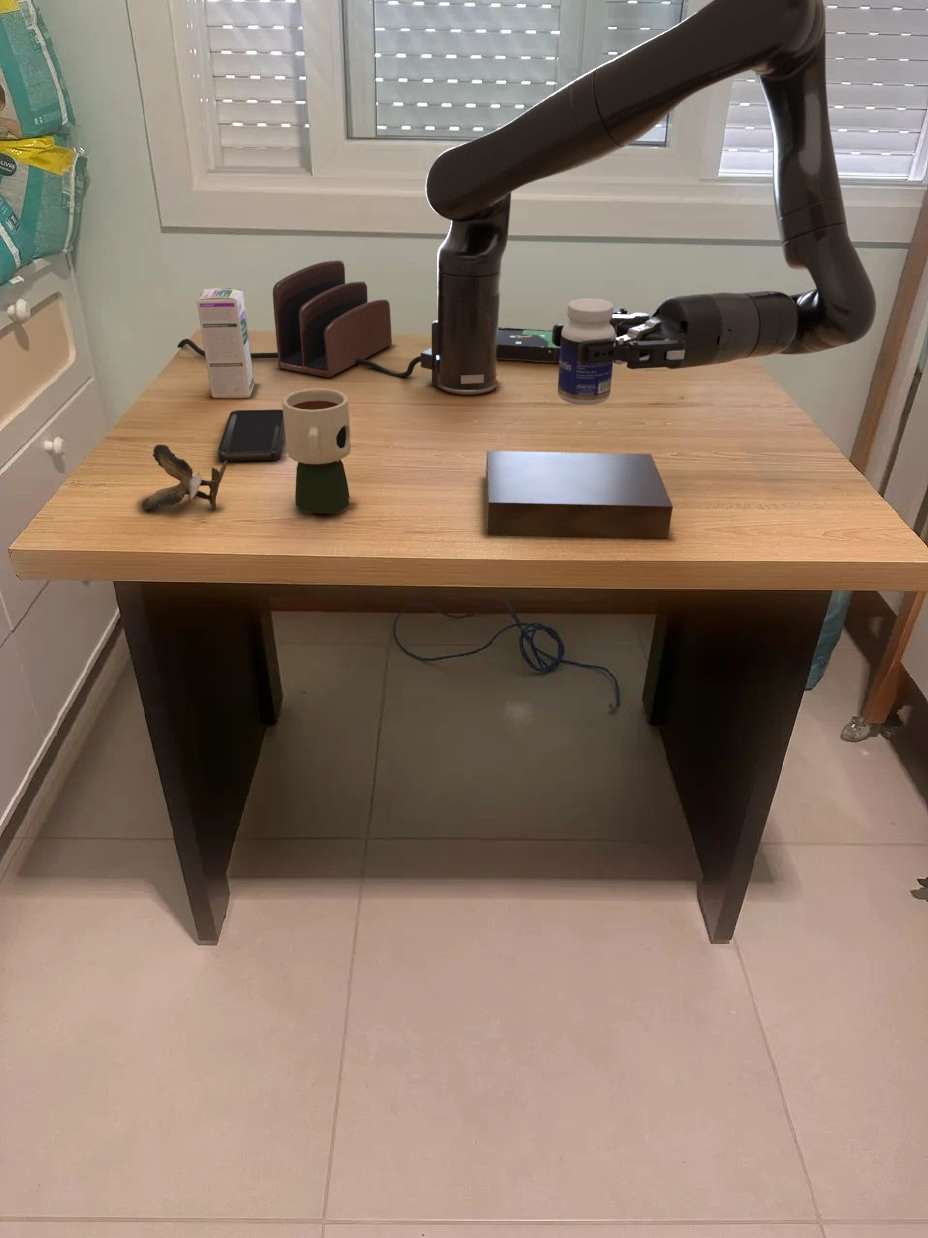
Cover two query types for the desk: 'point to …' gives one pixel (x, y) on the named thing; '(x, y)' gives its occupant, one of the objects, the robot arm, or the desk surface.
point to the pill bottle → (574, 377)
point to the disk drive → (527, 345)
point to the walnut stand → (575, 495)
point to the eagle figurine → (182, 481)
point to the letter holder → (327, 321)
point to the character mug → (318, 447)
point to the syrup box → (226, 342)
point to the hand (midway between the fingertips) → (566, 344)
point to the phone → (253, 436)
